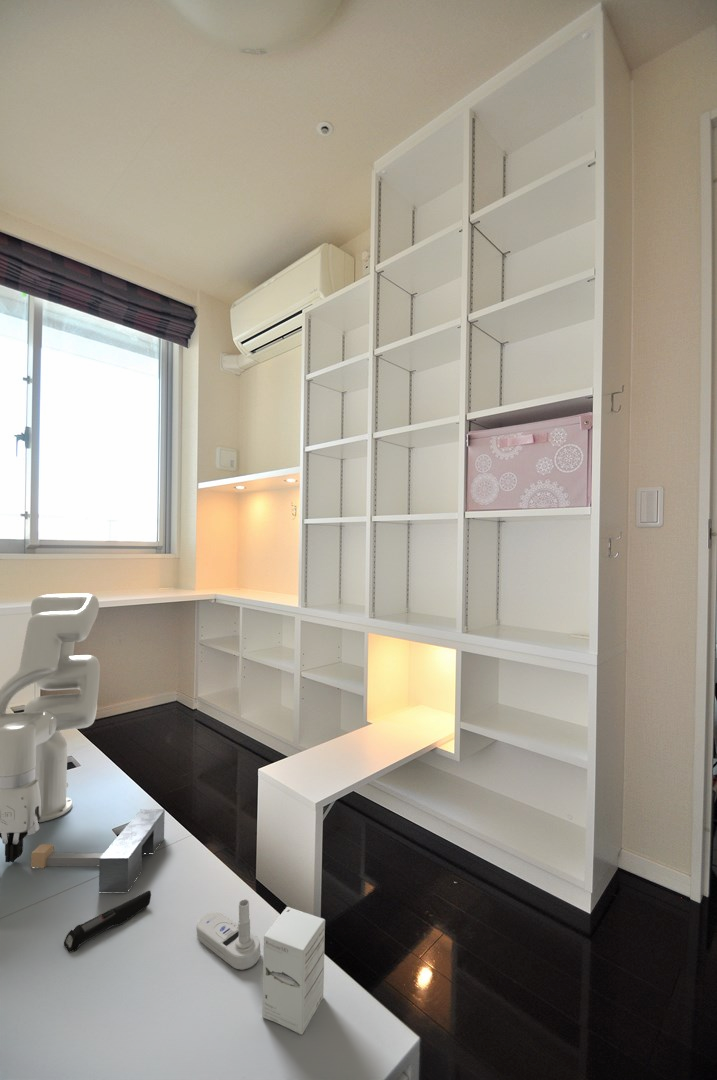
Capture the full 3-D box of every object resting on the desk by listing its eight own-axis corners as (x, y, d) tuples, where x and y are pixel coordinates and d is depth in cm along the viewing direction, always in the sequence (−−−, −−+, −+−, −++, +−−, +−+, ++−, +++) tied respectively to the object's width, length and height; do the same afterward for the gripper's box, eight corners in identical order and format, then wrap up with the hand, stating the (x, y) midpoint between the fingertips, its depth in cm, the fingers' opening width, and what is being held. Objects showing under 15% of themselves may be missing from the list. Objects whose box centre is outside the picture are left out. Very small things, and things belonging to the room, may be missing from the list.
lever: (29, 869, 111) (30, 849, 112) (41, 857, 116) (42, 838, 116) (129, 869, 112) (129, 849, 112) (137, 857, 116) (138, 838, 116)
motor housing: (98, 893, 104) (99, 858, 104) (140, 838, 124) (140, 809, 124) (127, 893, 104) (128, 858, 104) (164, 838, 124) (164, 809, 124)
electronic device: (214, 869, 97) (265, 900, 88) (215, 921, 97) (266, 957, 88) (190, 884, 93) (241, 917, 84) (191, 937, 93) (242, 977, 83)
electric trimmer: (154, 910, 100) (154, 894, 100) (70, 956, 88) (70, 937, 88) (145, 901, 102) (146, 885, 102) (62, 945, 90) (63, 927, 90)
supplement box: (260, 1019, 76) (261, 934, 76) (286, 981, 83) (287, 903, 83) (302, 1038, 73) (303, 950, 73) (325, 997, 80) (326, 917, 80)
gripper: (-30, 785, 110) (-32, 868, 110) (37, 785, 110) (35, 869, 110) (-5, 770, 118) (-7, 848, 117) (58, 770, 118) (56, 849, 117)
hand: (13, 858), depth 114 cm, fingers closed
